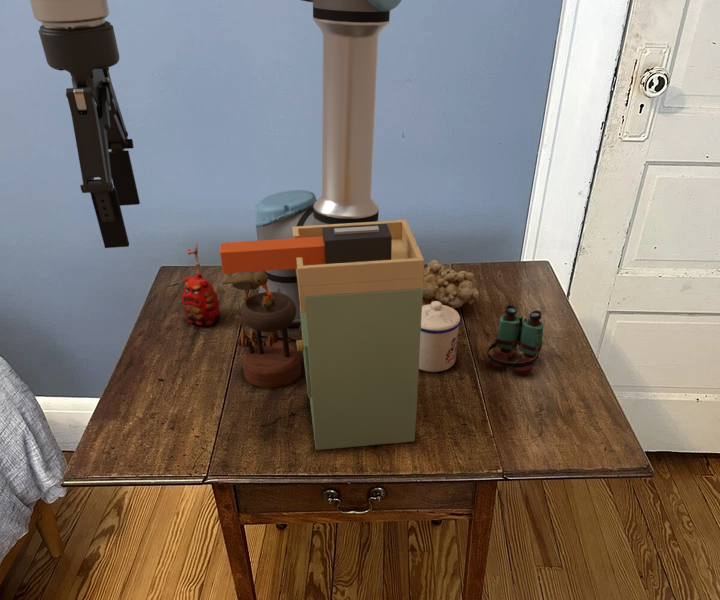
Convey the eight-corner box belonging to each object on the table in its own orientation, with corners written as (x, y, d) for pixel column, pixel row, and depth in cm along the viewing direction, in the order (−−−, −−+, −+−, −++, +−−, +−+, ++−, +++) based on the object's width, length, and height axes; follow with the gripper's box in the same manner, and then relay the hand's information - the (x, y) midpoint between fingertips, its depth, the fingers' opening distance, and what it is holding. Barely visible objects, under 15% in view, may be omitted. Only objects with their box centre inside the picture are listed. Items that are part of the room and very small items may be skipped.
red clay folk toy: (178, 324, 138) (163, 253, 128) (196, 308, 143) (182, 238, 132) (211, 330, 136) (198, 258, 126) (228, 314, 141) (217, 243, 130)
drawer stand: (301, 399, 118) (286, 226, 97) (400, 391, 120) (406, 219, 99) (306, 451, 108) (290, 269, 87) (414, 441, 109) (424, 260, 89)
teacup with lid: (455, 375, 123) (461, 317, 115) (405, 371, 124) (407, 314, 116) (458, 340, 132) (464, 285, 124) (411, 337, 133) (414, 282, 125)
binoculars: (485, 328, 116) (503, 297, 122) (481, 377, 124) (497, 345, 130) (537, 339, 113) (552, 307, 119) (529, 388, 121) (544, 355, 127)
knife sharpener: (223, 261, 95) (219, 230, 92) (386, 251, 97) (386, 220, 94) (223, 275, 92) (218, 244, 89) (391, 264, 94) (391, 233, 91)
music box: (229, 388, 121) (213, 279, 109) (242, 359, 130) (228, 255, 117) (314, 390, 120) (307, 280, 108) (321, 361, 129) (316, 256, 116)
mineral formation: (429, 284, 149) (493, 296, 142) (400, 319, 142) (465, 334, 136) (426, 251, 143) (492, 262, 136) (395, 286, 136) (464, 300, 130)
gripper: (94, 43, 62) (145, 264, 76) (124, 3, 80) (161, 187, 95) (9, 46, 61) (76, 269, 76) (58, 5, 80) (105, 190, 94)
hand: (123, 224), depth 85 cm, fingers open, 13 cm apart
